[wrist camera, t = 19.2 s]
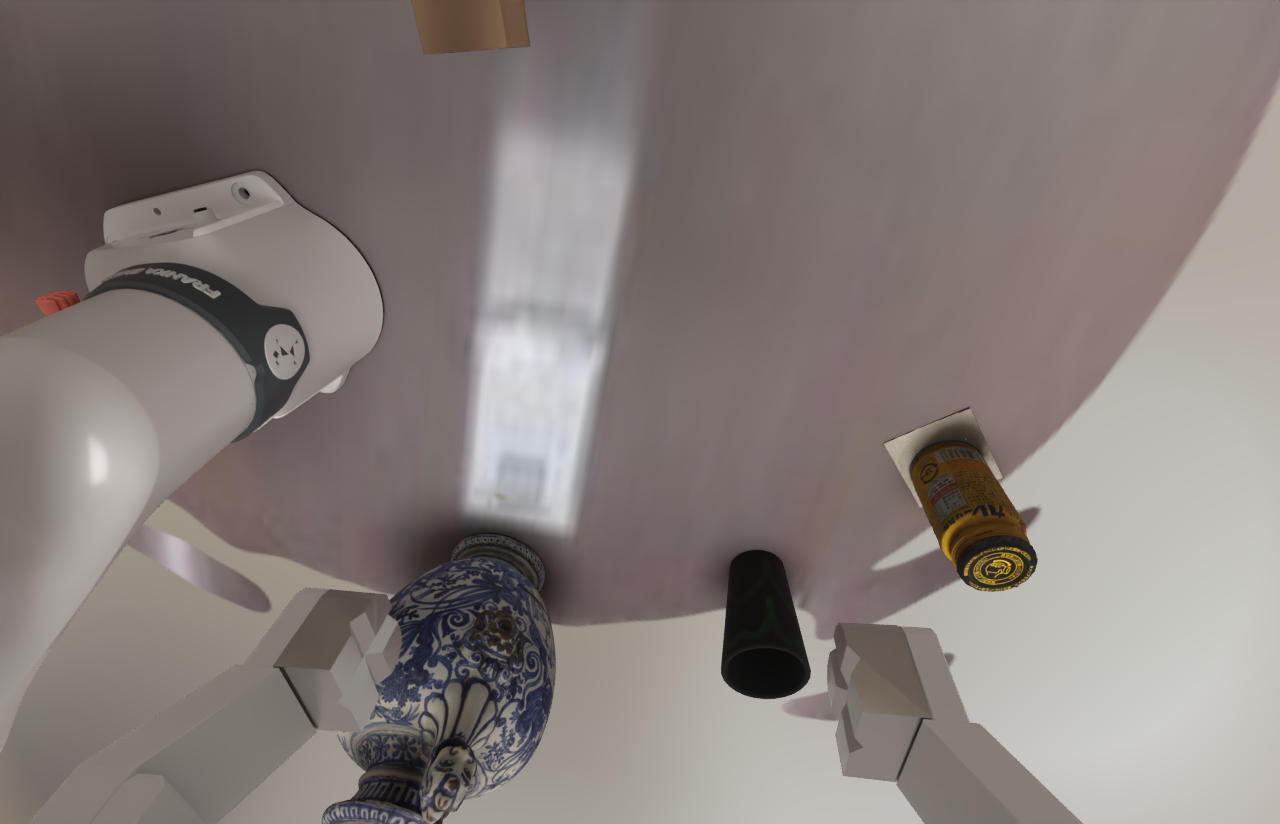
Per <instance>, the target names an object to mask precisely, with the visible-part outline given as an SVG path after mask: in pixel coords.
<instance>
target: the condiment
mask: <svg viewBox="0 0 1280 824" xmlns="http://www.w3.org/2000/svg"><path fill="white" fill-rule="evenodd" d="M965 439H967V440H965ZM884 445H885V447H886V449H887V450H888V452H889V454H890V456H891V457H892V459H893V461H894V462H895V464H896V466H897V468H898V470H899V471H900V473H901V475H902V477H903V478H904V480H905V482H906V484H907V485H908V487H909V489H910V491H911V492H912V494H913V496H914V498H915V499H916V501H917V503H918V505H919V507H920V508H922V507H923V508H924V510H925V513H926V516H927V518H928V520H929V522H930V524H931V526H932V528H933V531H934V533H935V535H936V537H937V539H938V542H939V545H940V548H941V549H942V550H943V552H944V554H945V555H946V556H947V557H948V558H949V559H950V560H952V562H953V564H954V566H955V567H956V568H957V572H958V574H959V575H960V577H961V579H962V580H963V581H964V582H965V583H966V584H967V585H969V586H971V587H973V588H975V589H977V590H980V591H1003V590H1007V589H1011V588H1013V587H1017V586H1018V585H1019V584H1021V583H1023V582H1025V581H1026V580H1027V579H1028V578H1029V577H1030V576H1031V575H1032V574H1033V573H1034V572H1035V569H1036V565H1037V557H1036V552H1035V550H1034V549H1033V547H1032V546H1031V545H1030V542H1029V540H1028V538H1027V536H1026V527H1025V524H1024V523H1023V520H1022V518H1021V516H1020V515H1019V514H1018V512H1017V510H1016V509H1015V507H1014V506H1013V504H1012V503H1011V501H1010V500H1009V498H1008V497H1007V495H1006V494H1005V492H1004V490H1003V489H1002V487H1001V485H1000V484H999V482H998V481H997V480H998V479H1000V478H1003V477H1002V475H1001V473H1000V471H999V469H998V467H997V465H996V463H995V460H994V458H993V456H992V454H991V452H990V450H989V448H988V445H987V443H986V441H985V439H984V437H983V435H982V432H981V430H980V428H979V426H978V424H977V422H976V420H975V417H974V415H973V413H972V411H971V409H968V410H965V411H962V412H960V413H956V414H954V415H951V416H948V417H946V418H944V419H941V420H938V421H935V422H933V423H931V424H928V425H926V426H924V427H921V428H917V429H916V430H914V431H912V432H910V433H908V434H905V435H902V436H900V437H898V438H896V439H894V440H891V441H889V442H887V443H884ZM916 447H918V449H917V450H915V449H916ZM915 451H917V453H916V454H914V452H915Z"/></svg>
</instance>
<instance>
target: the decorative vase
mask: <svg viewBox="0 0 1280 824" xmlns="http://www.w3.org/2000/svg"><path fill="white" fill-rule="evenodd" d="M544 581H545V569H544V566H543V563H542V561H541V560H540V558H539V557H538V555H537V554H536V553H535V552H534V551H533V550H532V549H531V548H529V547H528V546H527V545H525V544H523V543H521V542H519V541H518V540H515V539H513V538H511V537H508V536H505V535H500V534H492V533H483V534H475V535H472V536H469V537H467V538H465V539H464V540H462V541H461V542H459V543H458V545H457V546H456V547H455V549H454V551H453V553H452V557H451V561H450V562H447V563H444V564H442V565H440V566H438V567H436V568H434V569H432V570H430V571H428V572H426V573H424V574H422V575H421V576H419V577H418V578H416V579H415V580H414V581H412V582H411V583H410V584H408V585H407V586H406V587H404V588H403V589H402V590H401V591H400V592H398V593H397V594H396V595H395V596H394V597H393V598H391V599H390V600H389V601H390V603H391V605H392V607H391V609H390V611H389V613H388V615H389V616H391V617H392V618H393V619H395V620H396V621H397V622H398V623H399V626H400V629H401V635H402V645H401V649H400V654H399V658H398V661H397V663H396V665H395V667H394V669H393V671H392V673H391V675H389V676H388V677H387V678H385V679H384V680H383V681H382V682H380V683H379V684H378V690H379V695H380V697H379V699H378V701H377V703H376V705H375V707H374V709H373V711H372V713H371V715H370V717H369V719H368V721H367V723H366V725H365V727H364V729H363V731H362V732H346V731H336V733H337V736H338V738H339V741H340V743H341V745H342V746H343V748H344V750H345V751H346V753H347V754H348V755H349V756H350V757H351V759H352V760H353V761H354V762H355V763H356V764H357V765H358V766H360V767H361V768H362V769H363V770H364V771H366V773H364V774H363V775H362V776H361V777H360V779H359V783H358V785H359V791H358V792H357V793H356V794H355V796H354V797H352V799H351V800H346V801H342V802H338V803H335V804H332V805H331V806H329V807H328V808H327V809H326V810H325V812H324V814H323V817H322V824H442V822H443V819H444V818H445V817H447V816H448V814H449V812H450V811H452V812H455V811H457V810H458V808H459V807H460V805H461V804H462V802H463V800H465V799H471V798H476V797H479V796H481V795H484V794H486V793H488V792H490V791H493V790H495V789H497V788H499V787H501V786H502V785H504V784H505V783H507V782H508V781H510V780H511V779H512V778H513V777H514V776H515V775H517V774H518V773H519V772H520V770H521V769H522V768H523V767H524V766H525V765H526V764H527V762H528V761H529V760H530V758H531V757H532V755H533V754H534V752H535V750H536V748H537V746H538V745H539V742H540V740H541V738H542V735H543V732H544V730H545V727H546V723H547V720H548V717H549V713H550V709H551V704H552V698H553V692H554V685H555V673H556V659H555V645H554V637H553V631H552V626H551V622H550V618H549V614H548V611H547V609H546V606H545V604H544V601H543V599H542V597H541V596H540V594H539V592H540V590H541V589H542V586H543V584H544Z"/></svg>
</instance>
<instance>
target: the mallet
mask: <svg viewBox="0 0 1280 824" xmlns="http://www.w3.org/2000/svg"><path fill="white" fill-rule="evenodd" d="M411 2H412V6H413V11H414V15H415V19H416V24H417V28H418V33H419V37H420V42H421V46H422V50H423V54H438V53H454V52H466V51H479V50H491V49H503V48H516V47H528V46H530V42H529V35H528V28H527V21H526V14H525V7H524V0H411Z"/></svg>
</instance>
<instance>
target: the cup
mask: <svg viewBox="0 0 1280 824" xmlns="http://www.w3.org/2000/svg"><path fill="white" fill-rule="evenodd" d="M810 672H811V670H810V666H809V663H808V658H807V654H806V651H805V647H804V643H803V639H802V635H801V631H800V628H799V624H798V620H797V616H796V612H795V608H794V604H793V600H792V597H791V593H790V589H789V585H788V581H787V577H786V573H785V570H784V566H783V563H782V561H781V560H780V559H779V558H778V557H777V556H776V555H774V554H772V553H770V552H767V551H761V550H752V551H747V552H744V553H742V554H739V555H738V556H737V557H735V558H734V560H733V561H732V562H731V565H730V572H729V584H728V595H727V607H726V618H725V630H724V642H723V653H722V665H721V674H722V677H723V679H724V681H725V682H726V683H727V684H728V685H729V686H730V687H731V688H732V689H734V690H735V691H737V692H739V693H741V694H743V695H746V696H750V697H753V698H760V699H775V698H782V697H786V696H789V695H792V694H794V693H796V692H797V691H799V690H801V689H802V688H803V687H804V686H805V685H806V684H807V682H808V680H809V679H810V674H811V673H810Z"/></svg>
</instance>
